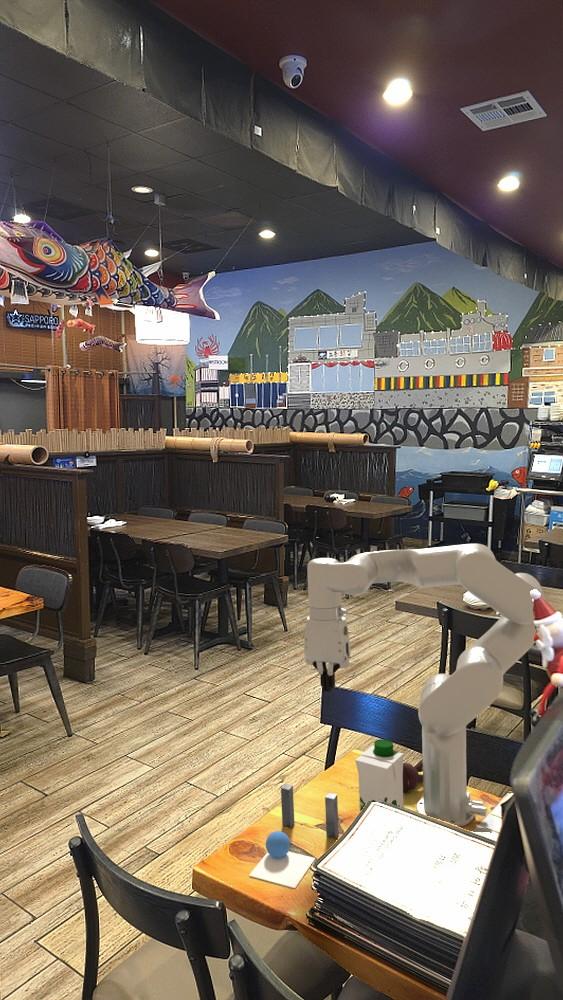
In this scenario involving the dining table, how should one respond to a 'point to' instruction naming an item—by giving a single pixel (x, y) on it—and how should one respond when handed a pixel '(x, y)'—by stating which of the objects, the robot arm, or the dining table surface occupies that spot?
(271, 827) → the dining table surface
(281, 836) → the ball
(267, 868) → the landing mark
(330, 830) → the right post
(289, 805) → the left post
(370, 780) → the milk carton
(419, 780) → the icecream
